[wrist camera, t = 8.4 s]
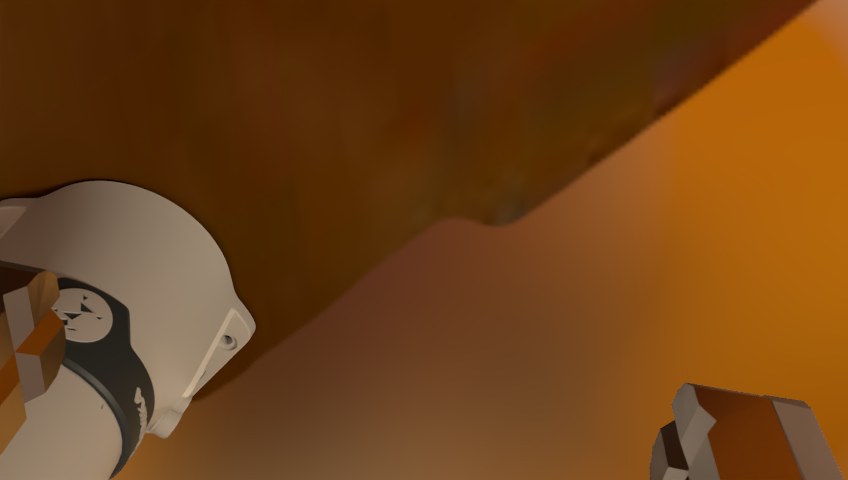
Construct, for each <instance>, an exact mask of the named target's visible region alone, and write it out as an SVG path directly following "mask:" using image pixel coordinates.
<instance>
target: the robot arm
mask: <svg viewBox="0 0 848 480" xmlns="http://www.w3.org/2000/svg"><path fill="white" fill-rule="evenodd" d="M255 328H256V326H255V322H254V320H253V318H252V316H251V315H250V313H249V312H248V310H247V309H246V308H245V306H244V305H243V304H242V302H241V301H240V300H239V298H238V297H237V295H236V293H235V291H234V288H233V284H232V280H231V276H230V272H229V268H228V265H227V263H226V260H225V258H224V256H223V254H222V252H221V250H220V249H219V247H218V245H217V244H216V242H215V241H214V240H213V238H212V237H211V236H210V234H209V233H208V232H207V231H206V230H205V229H204V227H203V226H202V225H201V224H200V223H199V222H198V221H197V220H195V219H194V218H193V217H192V216H191V215H190V214H188V213H187V212H186V211H184V210H183V209H182V208H180V207H179V206H177V205H176V204H174V203H173V202H171V201H169V200H167V199H166V198H164V197H162V196H160V195H158V194H155V193H153V192H151V191H148V190H146V189H143V188H140V187H137V186H133V185H129V184H125V183H119V182H111V181H87V182H81V183H76V184H72V185H69V186H66V187H63V188H61V189H59V190H57V191H55V192H52V193H50V194H48V195H46V196H43V197H40V198H11V199H5V200H2V201H0V480H109V479H111V478H113V477H114V476H115V475H116V474H117V473H118V472H119V471H121V469H122V468H123V466H124V465H125V464H126V462H127V461H128V460H129V458H131V456H132V455H133V454H134V452H135V451H136V449H137V448H138V446H139V444H140V442H141V441H142V438H143V436H144V433H154V434H156V435H157V436H159V437H161V438H167V437H168V436H169V435H170V434H171V432H172V431H173V430H174V428H175V427H176V425H177V424H178V422H179V420H180V418H181V416H182V414H183V412H184V410H185V409H186V408H187V406H188V405H189V403H190V401H191V399H192V396H193V395H194V394H195V393H196V392H197V391H198V390H199V389H200V388H201V387H202V386H203V385H204V384H205V383H206V382H207V381H208V380H209V379H210V378H211V377H213V376H214V375H215V374H216V373H217V372H218V371H219V370H220V369H221V368H222V367H223V366H224V365H225V364H226V363H227V362H228V361H229V360H230V359H231V358H232V357H233V356H234V355H235V354H236V353H237V352H238V351H239V350H240V349H241V348H242V347H243V346H244V345H245V344H246V343H247V342H248V341H249V339H250V338H251V336H252V335H253V333H254V331H255ZM225 335H228V336H230V337H231V338H228V337H226V336H225ZM672 409H673V413H674V417H675V420H674V421H672V422H671V423H669V424H667V425H665V426H664V427H662V428H661V429H660V431H659V433H658V436H657V438H656V441H655V444H654V446H653V451H652V456H651V462H650V480H844V478H843V476H842V474H841V472H840V470H839V468H838V465H837V463H836V461H835V459H834V457H833V455H832V452H831V450H830V448H829V446H828V444H827V442H826V439H825V437H824V435H823V433H822V431H821V429H820V426H819V424H818V422H817V420H816V417H815V415H814V413H813V411H812V409H811V407H810V406H808V405H807V404H806V403H805V402H804V401H799V400H793V399H787V398H780V397H774V396H767V395H763V396H760V395H756V394H750V393H744V392H738V391H732V390H727V389H721V388H715V387H709V386H703V385H697V384H691V383H684V384H683V385H682V386H681V388H680V389H679V390H678V391H677V394H676V396H675V398H674V400H673V402H672Z"/></svg>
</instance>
